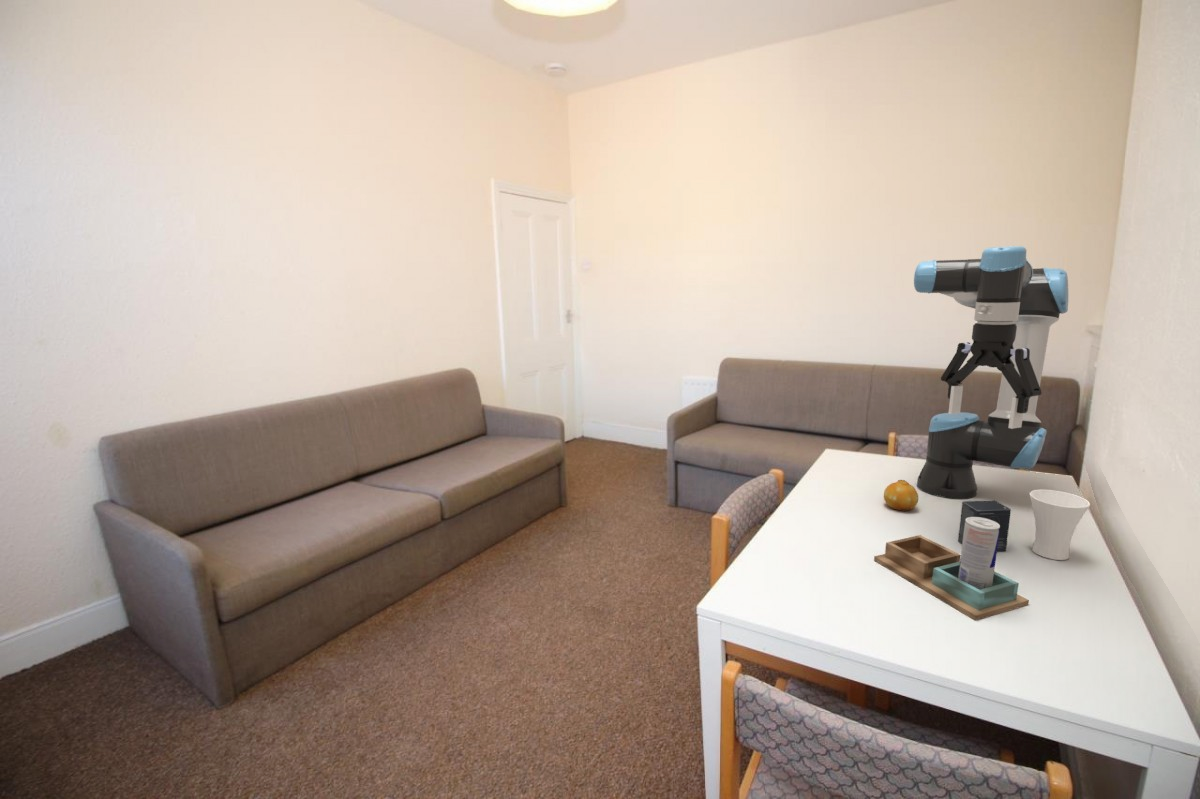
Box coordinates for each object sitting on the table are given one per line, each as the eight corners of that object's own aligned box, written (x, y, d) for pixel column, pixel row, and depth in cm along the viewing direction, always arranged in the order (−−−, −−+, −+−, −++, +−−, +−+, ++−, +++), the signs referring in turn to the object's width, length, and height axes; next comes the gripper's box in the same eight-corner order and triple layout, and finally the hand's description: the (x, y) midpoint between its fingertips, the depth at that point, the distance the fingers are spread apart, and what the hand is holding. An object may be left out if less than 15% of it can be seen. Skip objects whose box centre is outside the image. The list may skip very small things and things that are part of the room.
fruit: (903, 491, 156) (896, 471, 153) (928, 504, 149) (921, 483, 145) (882, 508, 155) (874, 488, 152) (905, 522, 148) (898, 501, 144)
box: (989, 540, 131) (994, 499, 129) (1006, 552, 126) (1012, 509, 123) (956, 541, 131) (961, 500, 129) (972, 552, 126) (977, 510, 123)
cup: (1031, 561, 121) (1039, 504, 118) (1014, 540, 131) (1022, 487, 128) (1089, 568, 118) (1100, 510, 115) (1068, 546, 127) (1077, 492, 124)
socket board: (874, 560, 124) (875, 542, 123) (921, 549, 128) (923, 531, 127) (975, 620, 101) (978, 598, 100) (1028, 604, 106) (1031, 583, 105)
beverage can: (996, 600, 105) (1006, 529, 102) (964, 598, 106) (973, 527, 103) (982, 585, 111) (991, 516, 108) (952, 582, 112) (960, 515, 109)
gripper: (929, 320, 125) (920, 409, 129) (1046, 327, 102) (1031, 436, 106) (953, 318, 127) (944, 406, 132) (1074, 325, 104) (1057, 432, 108)
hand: (982, 420), depth 119 cm, fingers open, 13 cm apart
